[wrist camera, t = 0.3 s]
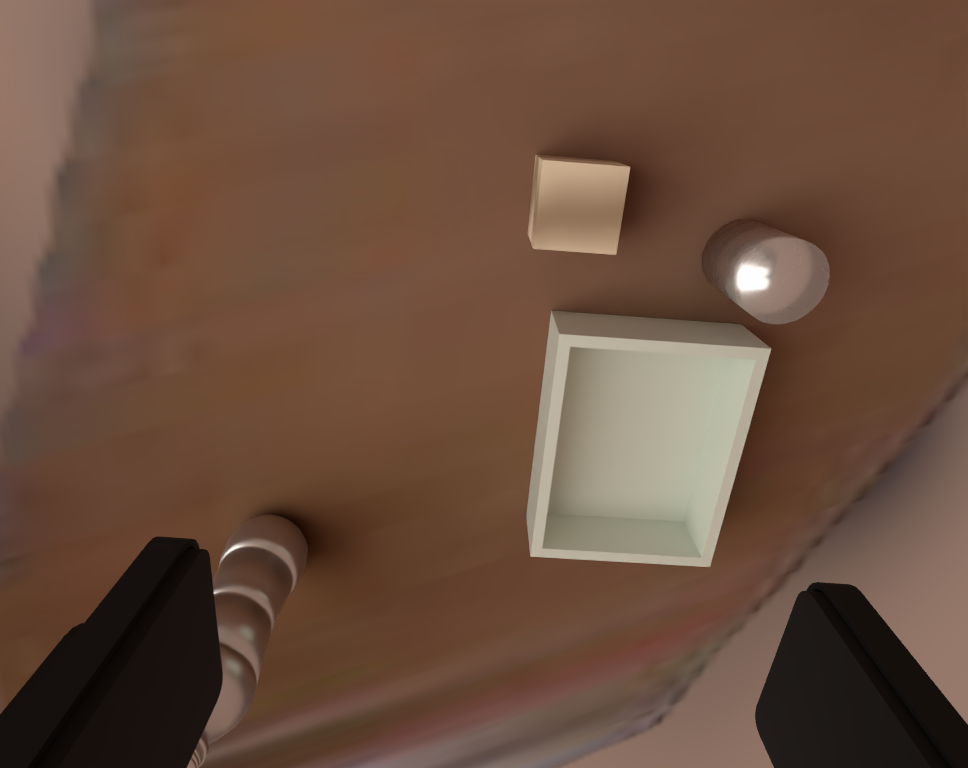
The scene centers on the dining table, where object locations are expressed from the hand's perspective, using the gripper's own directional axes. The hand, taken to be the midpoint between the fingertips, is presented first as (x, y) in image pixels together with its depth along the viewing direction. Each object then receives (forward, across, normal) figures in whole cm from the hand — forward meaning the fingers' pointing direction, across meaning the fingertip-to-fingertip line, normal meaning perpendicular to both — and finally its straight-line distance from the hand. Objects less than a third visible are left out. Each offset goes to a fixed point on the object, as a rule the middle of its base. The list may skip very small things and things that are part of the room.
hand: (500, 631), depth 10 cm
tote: (+34, -12, +13) cm, 39 cm away
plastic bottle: (+35, +16, +26) cm, 46 cm away
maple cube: (+34, -5, -3) cm, 35 cm away
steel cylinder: (+34, -17, 0) cm, 38 cm away
